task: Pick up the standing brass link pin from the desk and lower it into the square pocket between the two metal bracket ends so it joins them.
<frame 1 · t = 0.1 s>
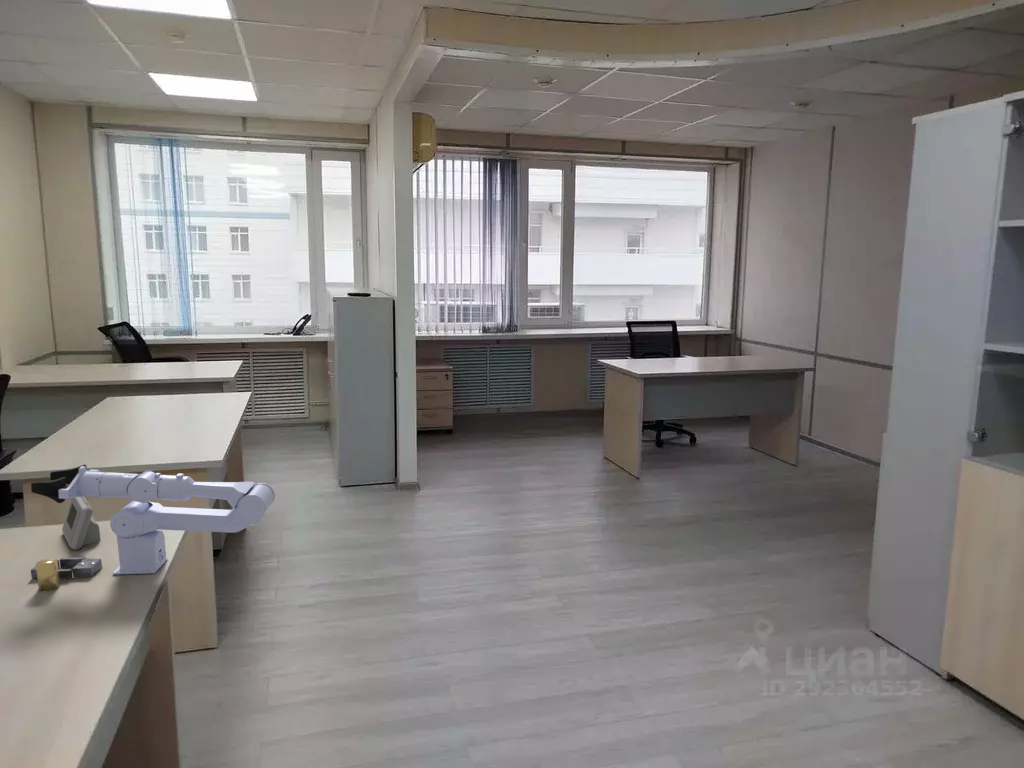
hand: (41, 481, 160), 22 cm above the table, tool horizontal, fingers open, 7 cm apart
metal bracket: (66, 573, 162), on the table
link pin: (49, 587, 155), on the table
digital clock: (79, 540, 181), on the table
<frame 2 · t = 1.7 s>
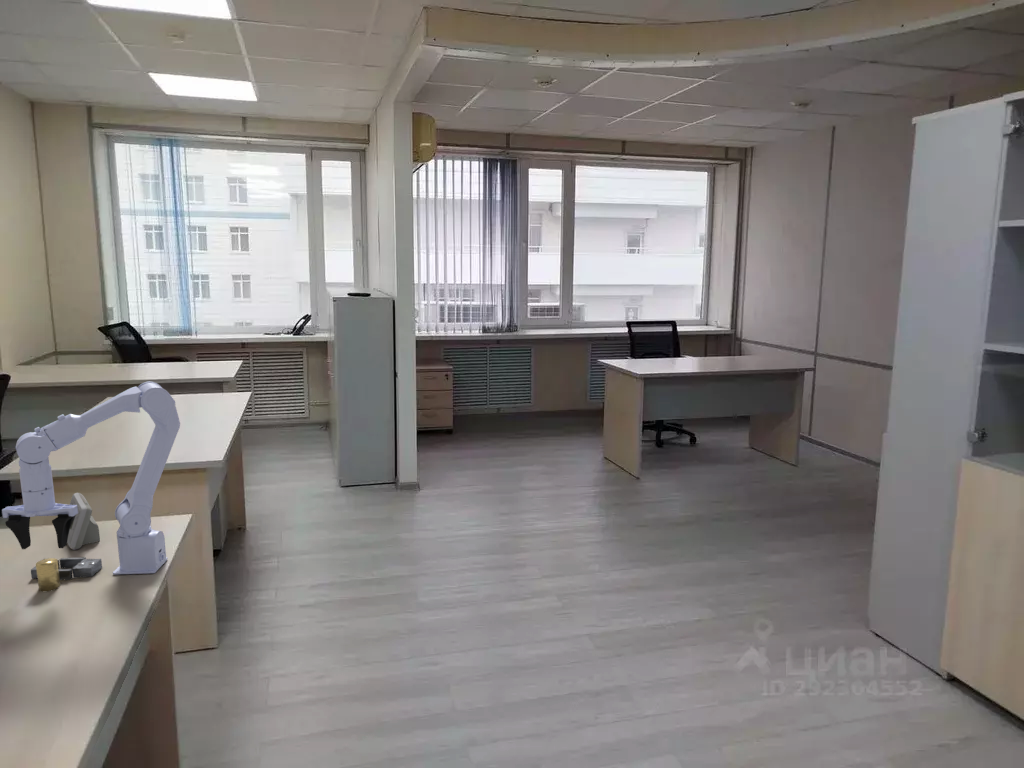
hand: (44, 547, 153), 10 cm above the table, tool pointing down, fingers open, 7 cm apart
nothing on the table moved.
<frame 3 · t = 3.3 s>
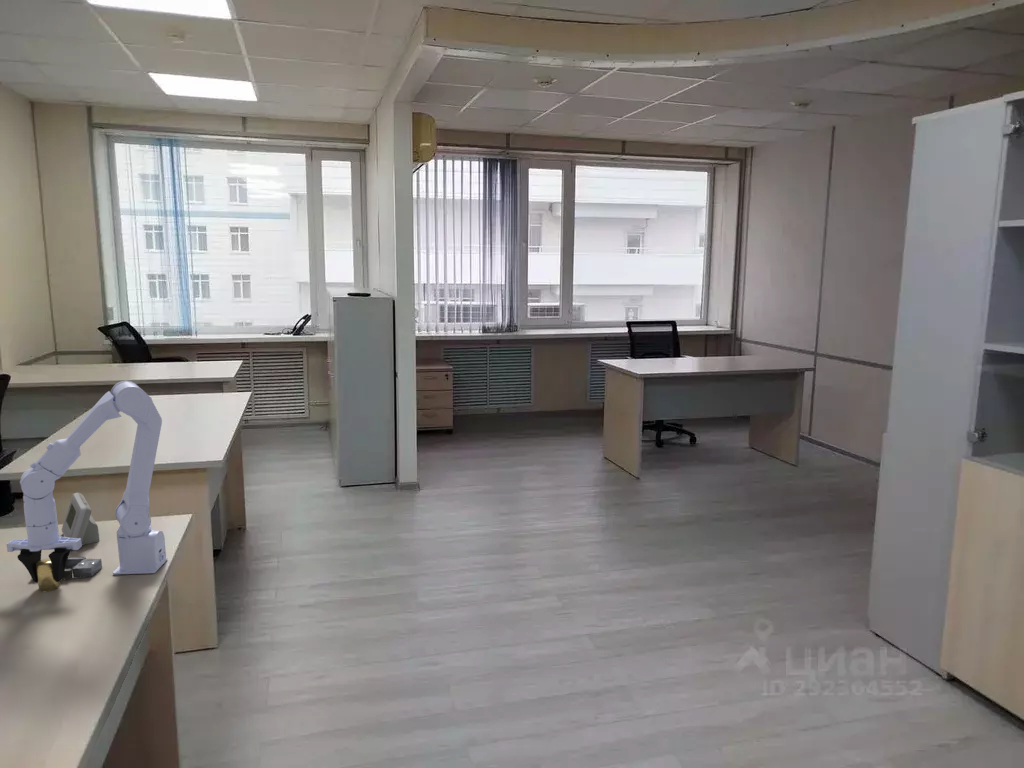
hand: (48, 580, 155), 2 cm above the table, tool pointing down, fingers closed on link pin, 4 cm apart
link pin: (49, 587, 155), on the table, touching gripper
everything else where it was.
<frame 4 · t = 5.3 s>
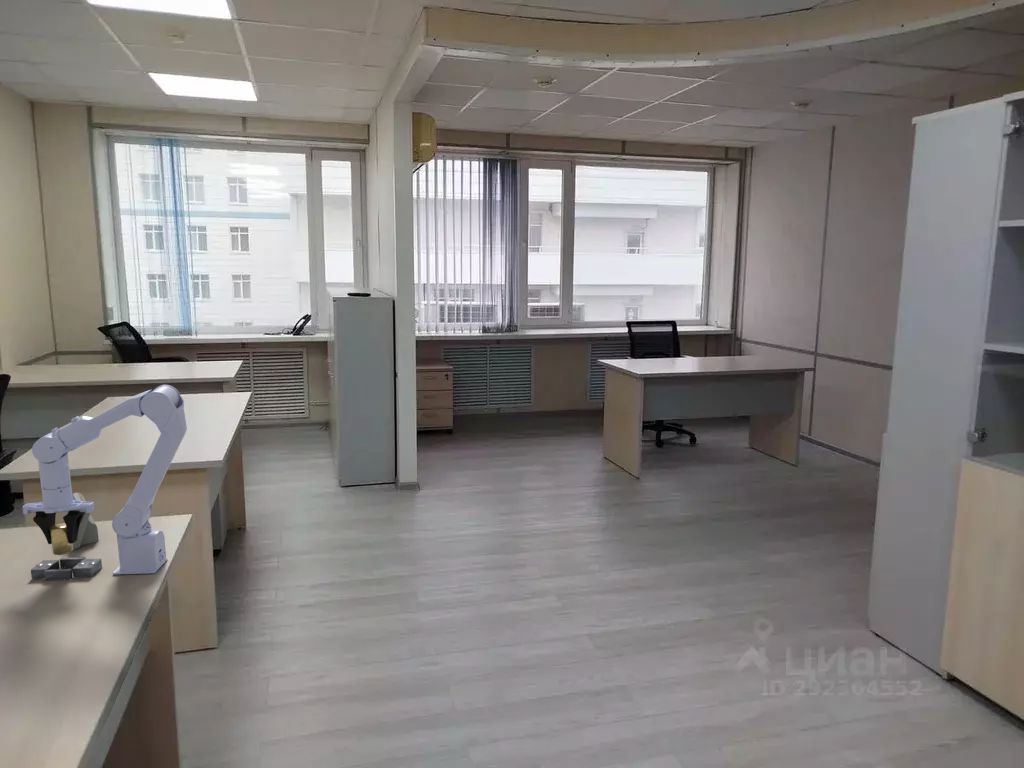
hand: (62, 542, 161), 8 cm above the table, tool pointing down, fingers closed on link pin, 4 cm apart
link pin: (63, 551, 161), point 6 cm above the table, touching gripper
everything else where it was.
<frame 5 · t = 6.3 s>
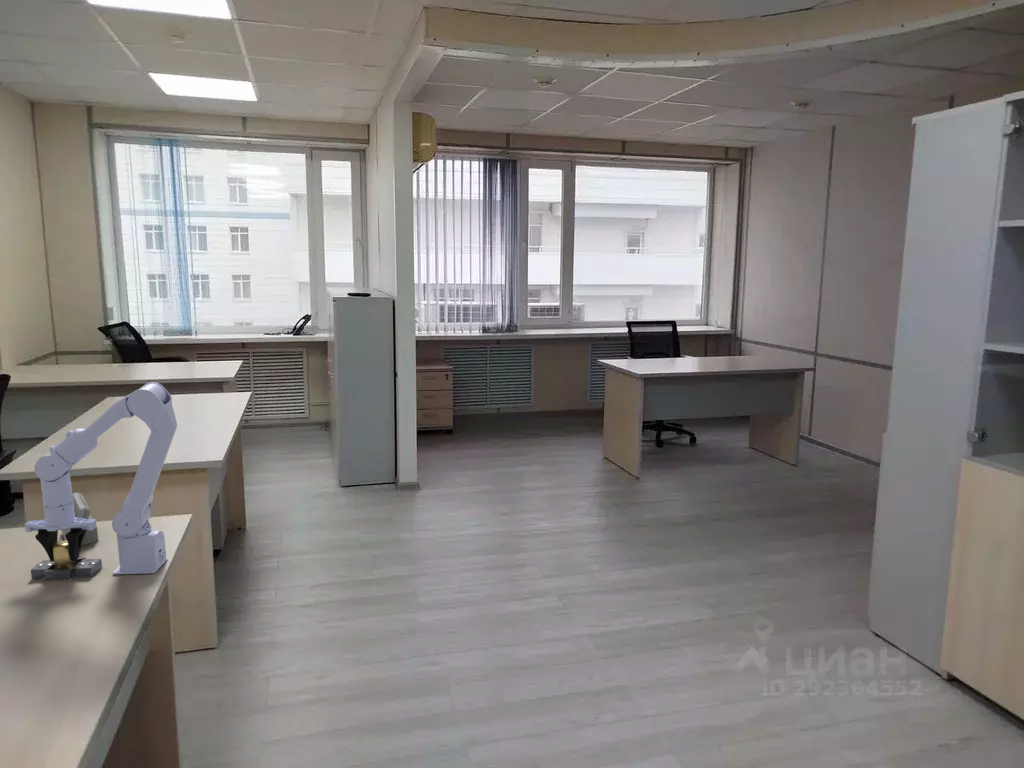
hand: (64, 559, 161), 3 cm above the table, tool pointing down, fingers closed on link pin, 4 cm apart
link pin: (65, 568, 162), point 1 cm above the table, touching gripper
everything else where it was.
when the fingers open (3 cm above the table, at t = 7.0 s): link pin drops 1 cm, resting in metal bracket.
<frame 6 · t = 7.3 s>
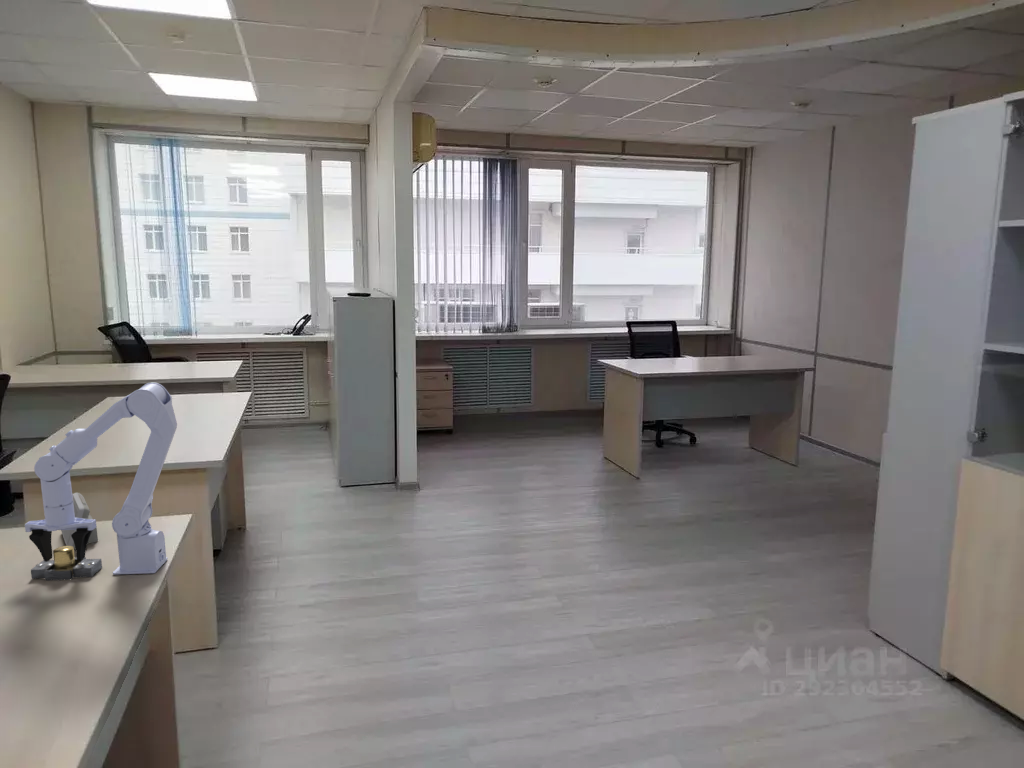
hand: (64, 559, 161), 3 cm above the table, tool pointing down, fingers open, 7 cm apart
link pin: (66, 573, 162), resting in metal bracket
everything else where it was.
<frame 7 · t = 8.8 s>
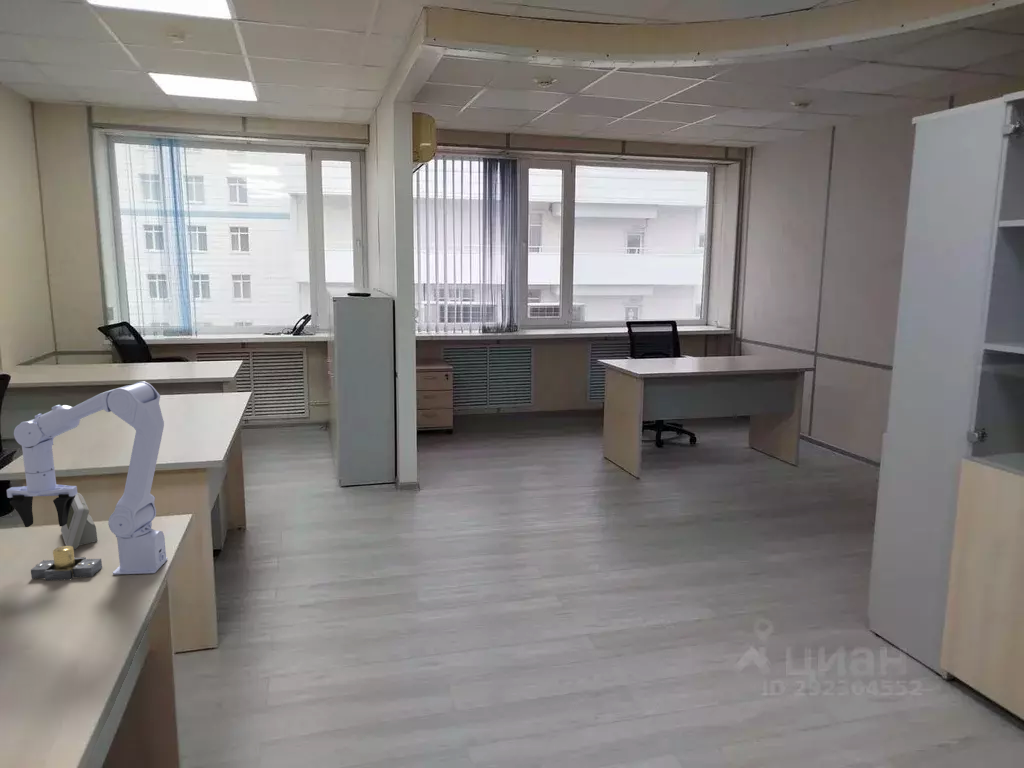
hand: (46, 525, 165), 10 cm above the table, tool pointing down, fingers open, 7 cm apart
nothing on the table moved.
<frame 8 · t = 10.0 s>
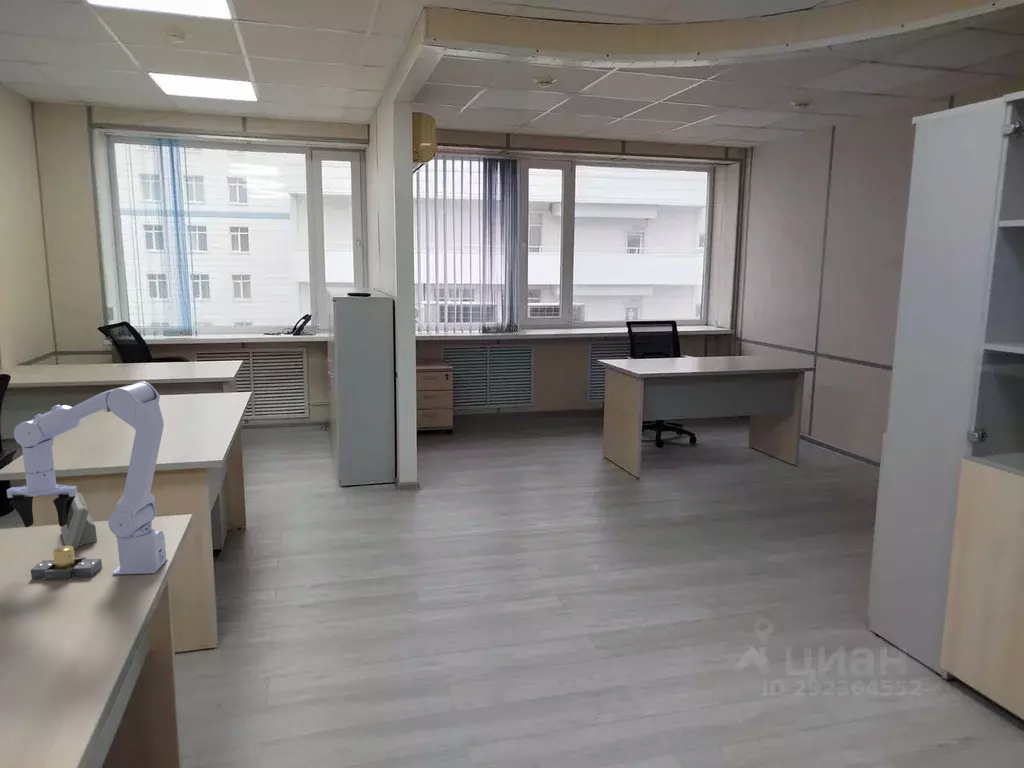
hand: (46, 525, 165), 10 cm above the table, tool pointing down, fingers open, 7 cm apart
nothing on the table moved.
at the end: link pin 0.2 cm off-centre on the metal bracket, point 0.0 cm above the metal bracket's base; the gripper is holding nothing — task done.
